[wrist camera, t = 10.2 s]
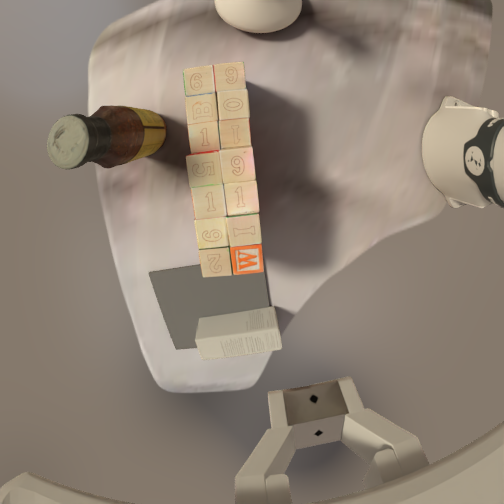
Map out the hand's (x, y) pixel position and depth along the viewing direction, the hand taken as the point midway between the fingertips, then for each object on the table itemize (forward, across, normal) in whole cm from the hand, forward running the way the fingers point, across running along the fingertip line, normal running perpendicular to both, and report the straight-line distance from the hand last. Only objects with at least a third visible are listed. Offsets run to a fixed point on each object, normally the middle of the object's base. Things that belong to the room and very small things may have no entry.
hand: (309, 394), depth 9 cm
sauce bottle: (+31, +13, -12) cm, 36 cm away
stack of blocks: (+32, +3, -6) cm, 32 cm away
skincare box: (+28, -1, +18) cm, 33 cm away
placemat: (+31, +9, +15) cm, 36 cm away
